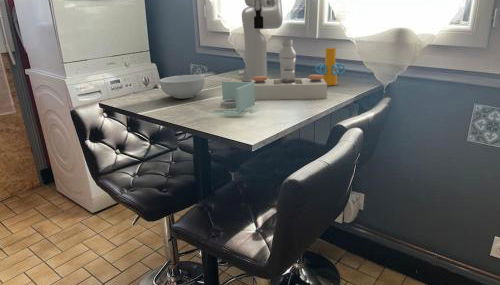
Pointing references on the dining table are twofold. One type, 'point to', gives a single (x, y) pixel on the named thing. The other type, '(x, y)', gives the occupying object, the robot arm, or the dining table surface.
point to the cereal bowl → (182, 85)
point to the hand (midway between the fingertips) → (258, 28)
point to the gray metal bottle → (287, 63)
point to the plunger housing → (290, 89)
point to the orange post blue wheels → (330, 67)
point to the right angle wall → (237, 96)
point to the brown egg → (315, 78)
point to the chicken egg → (260, 79)
